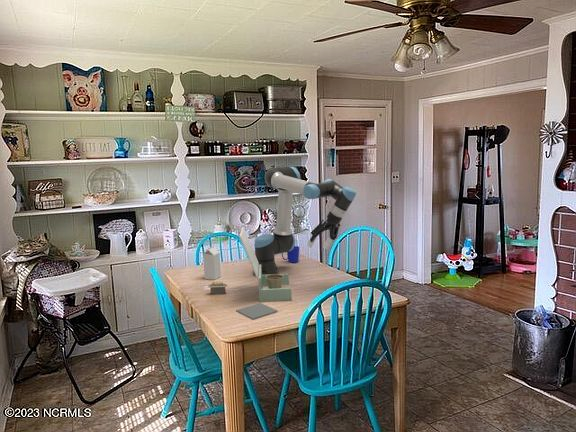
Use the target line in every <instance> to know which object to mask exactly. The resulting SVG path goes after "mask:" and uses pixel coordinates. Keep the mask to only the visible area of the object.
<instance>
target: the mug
mask: <svg viewBox="0 0 576 432" xmlns="http://www.w3.org/2000/svg"><path fill="white" fill-rule="evenodd" d="M286 253H287V254H286V255H287V256H286V257H287V258H285V257H284V255H283V254H284V253H281V258H282V260H284V261H287V260H288V262H289V263H290V264H291V263H292V264H293V263H298V262H299V259H300V246H298V245H295V247H294V248H293V250H291V251H289V252H286Z"/></svg>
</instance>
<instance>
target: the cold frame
mask: <svg viewBox="0 0 576 432" xmlns="http://www.w3.org/2000/svg"><path fill="white" fill-rule="evenodd" d="M279 274H280V275H283V276H284V277H283V280H282V286H287V285H290V278H289V277H290V276H289V273H279ZM269 275H271V274H269ZM266 276H267V275H262V270H261V264H259V276H258V277H257V278H258V300H259V303H261V302H282V301H292V299H293V298H292V297H293V296H292V295H293V292H292V287H281V288H278V289H269V288H263V286H264V287H267V286H268V282H267V279H266Z"/></svg>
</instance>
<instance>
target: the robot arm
mask: <svg viewBox="0 0 576 432" xmlns="http://www.w3.org/2000/svg"><path fill="white" fill-rule="evenodd" d="M264 182H265V184H266V185H267V186H268V187H269V188H272V189H275V190H277V192H278V197H277V215H276V227H275V229H274V230H273V234H271V233H266V234H260V235H258V236H256V237H255V238H254V253H255V255H256V258H257V260H258V262H259V264H261V270H262V275H269V274H279V270H278V266H277V263H276V261H275V255H278V254H280V255H282V253H283V254H285V253H287V252H289V251H291V250H293V248H294V247H295V246H296V241H297V240H296V238H295V235H294V234H293V231H292V230H291V221H292V208H293V195H294V193H295V194H299V195H301V196H304V197H305V198H306V199H307V200H315V199H322V198H328V197H329V198H330V197H331V198H333V199H334V200H335V201H334V204H333V205H332V206H331V209H330V211H329V212H328V213H327V215H326V220H325V219H322V220H321V221H320V223H318V224H317V226H315V227H314V229H312V231H311V232H310V234H311V237H310V238H309V241H308V242H307V245H306V246H307V247H308V248H309V249H312V247H313V246H314V244H315V242H316V240H317V239H318V238H317V237H318V236H320V235H321V234H322V233H324V232H325V231H327V230H329V236H328V237H327V239H326V240H325V242H324V243H323V245H322V247H323V248H324V249H325V251H327V250H328V248H329V246H330V244H331V243H332V242H333V241H336V239H337V238H338V234H339V229H340V226H341V224H340V223H341V221H342V220H343V218H344V216H345V215H346V213H347V211H348V209H349V207H350V206H351V204H352V203H353V201H354V200H355V198H356V196H357V191H356V190H355V189H354V188H352V187H350V186H347V185H345V186H341V185H340V184H339V183H338V182H336V181H335V180H333V179H331V178H327V179H324V181H323V182H319V183H315V182H311V181H307V180H303V179H301V174H300V171H299V169H298V168H296V167H295V166H280V167H279V166H278V167H276V166H275V167H272V168H270V169H268V170H267V171H266V172H265V174H264ZM252 274H253V276H255V277H256V275H255V273H254V270H253V269H252ZM258 277H259V266H258Z"/></svg>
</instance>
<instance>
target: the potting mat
mask: <svg viewBox="0 0 576 432" xmlns="http://www.w3.org/2000/svg"><path fill="white" fill-rule="evenodd" d="M235 311H236V312H237V313H238V314H241V315H242V316H244V317H247V318H249V319H251V320H257V319H259V318H264V317H266V316H269V315H272V314H274V313H278V312H279V310H277V309H276V308H273V307H271V306H269V305H266V304H265V303H261V302H259V303H255V304H252V305H249V306H246V307H242V308H239V309H236V310H235Z"/></svg>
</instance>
